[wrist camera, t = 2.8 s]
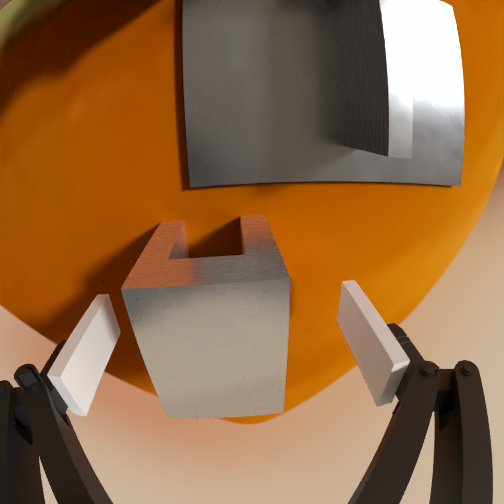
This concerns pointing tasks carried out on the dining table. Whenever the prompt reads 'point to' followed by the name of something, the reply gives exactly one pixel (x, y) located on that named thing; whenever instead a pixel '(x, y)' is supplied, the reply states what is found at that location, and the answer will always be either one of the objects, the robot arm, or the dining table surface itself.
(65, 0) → the dining table surface
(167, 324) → the hollow grey box
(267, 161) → the dark grey angled piece
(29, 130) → the dining table surface
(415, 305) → the dining table surface
